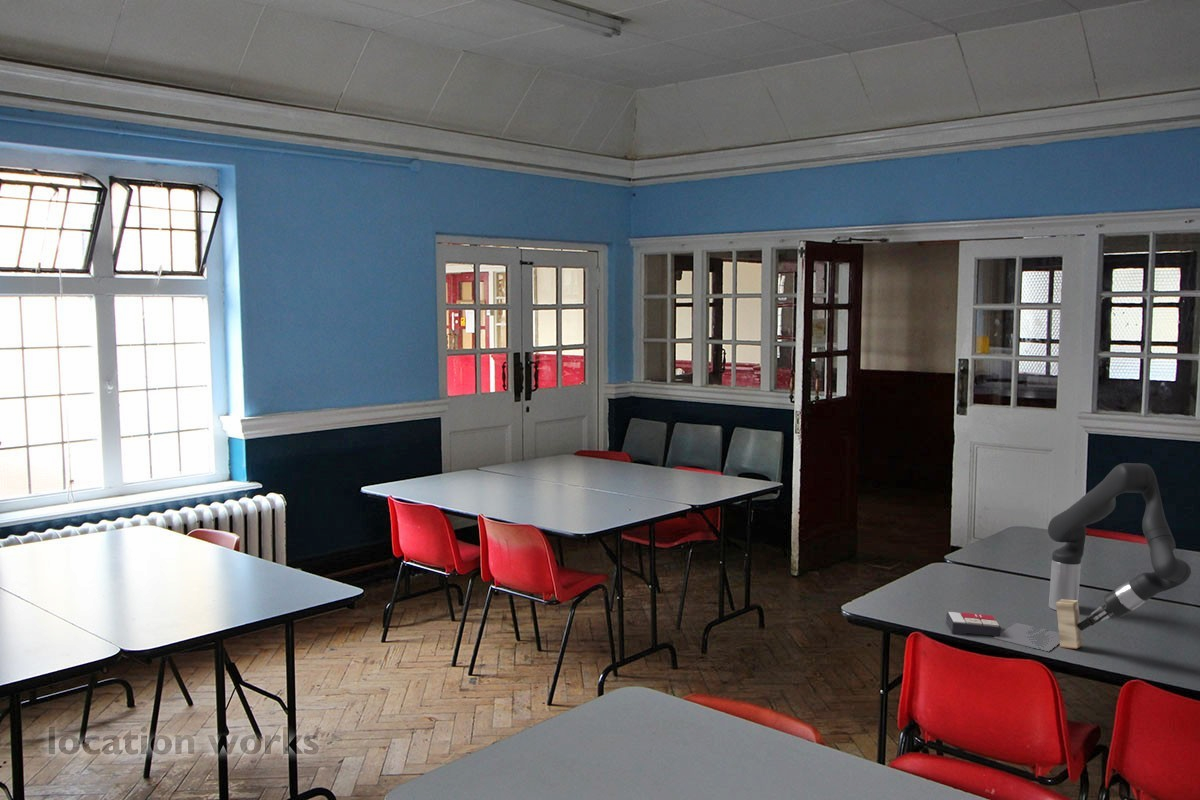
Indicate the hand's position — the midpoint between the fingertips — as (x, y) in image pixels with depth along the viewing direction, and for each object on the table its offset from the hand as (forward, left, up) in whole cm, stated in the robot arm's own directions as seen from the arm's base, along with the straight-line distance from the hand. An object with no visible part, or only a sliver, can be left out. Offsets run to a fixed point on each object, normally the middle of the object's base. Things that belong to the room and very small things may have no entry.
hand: (1079, 627), depth 305 cm
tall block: (0, -2, -6) cm, 7 cm away
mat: (0, -14, -7) cm, 16 cm away
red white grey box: (+7, -30, -7) cm, 32 cm away
